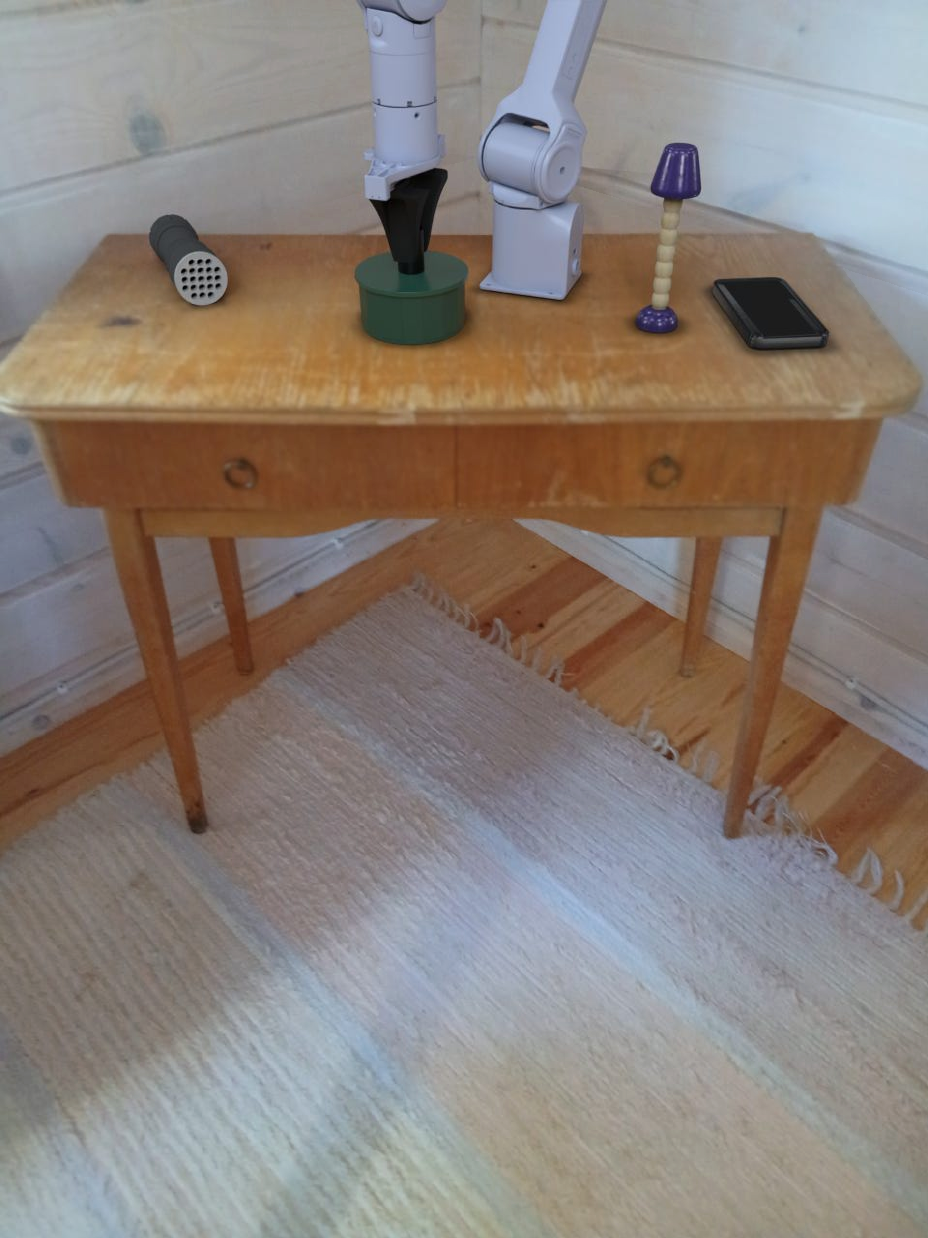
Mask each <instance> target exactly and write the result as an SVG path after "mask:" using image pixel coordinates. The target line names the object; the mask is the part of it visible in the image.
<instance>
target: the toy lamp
mask: <svg viewBox="0 0 928 1238" xmlns="http://www.w3.org/2000/svg"><path fill="white" fill-rule="evenodd" d="M652 177H653V178H652V180H651V183H650V188H649V190H650V192H651V194H652V195H654V196H656V197H658V198H659V197H660V198H662V199H663V202H662V206H663V212H662V214H661V218H660V224H661V228H660V230H659V234H658V241H659V244H658V245H657V248H656V259H657V261H656V262H655V265H654V275H655V276H654V279H653V282H652V289H653V293H652V295H651V298H650V303H651V304H649V305H646V306H644V307H643V308H641V310H640V311H639V312H638V314H637V316H636V318H635V322H634V323H635V326H636V327H637V328H638V329H640V330H641V331H645V332H650V333H656V334H657V333H667V332H672V331H674V330H675V329H676V330H677V328H678V325H679V320H678V316H677V314H676V312H675V310H674V309H673V308H672V307H670V306H669V303H670V293H669V292H670V290H671V288H672V277H671V276H672V274H673V272H674V261H673V260H674V259H675V256H676V245H675V244H676V242H677V240H678V237H679V231H678V227H679V225H680V221H681V213H680V210H681V209H682V208H683V207H682V206H683V204H684V203H683V201H684V200H690V199H694V198H697V197H699V196H700V194H701V192H702V179H701V168H700V156H699V150H698V146H696V145H695V144H692V143H688V142H670V143H668V144H666V145H665V147H663V150H662V153H661V155H660V158H659V160H658V164H657V166H656V169H655V171H654V174H653V176H652Z"/></svg>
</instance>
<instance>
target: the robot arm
mask: <svg viewBox="0 0 928 1238" xmlns="http://www.w3.org/2000/svg"><path fill="white" fill-rule="evenodd" d="M447 1H448V0H355V2H356V4H357V5H358V6H359V8H360V10H361V12H362V16H363V30H365V31H366V34H367V38H368V55H369V71H370V72H369V73H370V87H371V104H372V105H371V106H372V119H373V122H372V123H373V136H374V137H373V138H374V147H370V148H368V149H366V150H364V152H363V159H364V161H366V162H370V167H369V170H368V172H367V173H366V174H364V176H363V180H364V194H365V199H366V200H369V202H370V203H371V205H372V207H373V208H374V210H375V212H376V214H377V215H378V218H379V220H380V222H381V224H382V227H383V230H384V234H385V237H386V240H387V244H388V247H389V250H390V251H389V252H391V254H392V257H393V260H394V261H395V262H403V263H410V264H413V263H414V262H415V261H416V257H417V252H418V242H419V228H420V226H422V227H423V233H424V252H426V251H427V250H428V249H429V246H430V242H431V237H432V232H433V231H432V230H433V226H434V220H435V216H436V215H435V214H436V210H437V207H438V203H439V200H440V198H441V195H442V193H443V190H444V188H445V185H446V183H447V181H448V178H449V171H448V170H447V168H446V169H445V168H442V167H441V168H440V167H439V165H440V164H441V159H443V158H444V157H446V135H445V134H442V133H441V134H440V133H439V132H438V131H439V129H438V93H437V91H438V89H437V87H438V86H437V84H438V83H437V41H436V39H437V38H436V36H437V35H436V15H437V14H439V13H441V12H443V10H444V8H445V6H446V4H447ZM607 4H608V0H547V2H546V5H545V8H544V11H543V15H542V18H541V22H540V25H539V28H538V32H537V35H536V38H535V42H534V45H533V47H532V51H531V54H530V58H529V61H528V64H527V68H526V71H525V74H524V78H523V80H522V84H521V85H520V86H519V87H517V88H516V89H515V90H514V91H512V92H511V93H509V94H508V95H506V96H505V97H504V98H503V99H502V100H500V101H499V102H498V104H497V107H496V111H495V113H494V117H493V119H492V120H491V122H490V123H489V125H488V126H487V128H486V129H485V131H484V132H483V134H482V136H481V138H480V140H479V144H478V148H477V157H476V158H477V167H478V170H479V173H480V175H481V177H482V178H483V180H485V182H486V183H488V194H489V195H492V243H491V244H492V248H491V250H492V251H491V254H492V255H491V271H490V272H489V273H488V274H487V275H486V277H484V279H482V281H481V282H480V283H479V289H480V290H485V291H493V292H497V293H498V292H500V293H506V294H514V295H520V296H529V297H534V298H535V297H536V298H544V299H549V300H550V299H551V300H558V301H562V300H564V299H565V298H566V297H567V295H568V294H569V293H570V291H571V289H572V288H573V287H574V286H575V284H576V282H578V280H579V278H580V277H581V276H582V270H581V265H582V263H581V262H582V252H583V251H582V250H583V238H584V237H583V236H584V223H585V213H584V205H582V203H579V202H575V201H570V200H569V199H568V197H569V196H570V195H571V193H572V192H573V190H574V189H575V187H576V185H577V184H578V181H579V178H580V175H581V169H582V159H583V156H582V155H583V148H584V144H585V141H586V138H587V135H588V129H587V127H586V125H585V123H584V121H583V120H582V118H581V116H580V114H579V112H578V110H577V109H576V106H575V101H576V98H577V94H578V92H579V89H580V85H581V82H582V80H583V76H584V74H585V70H586V67H587V64H588V61H589V58H590V56H591V52H592V49H593V46H594V43H595V40H596V37H597V34H598V30H599V27H600V24H601V21H602V19H603V18H602V17H603V15H604V13H605V10H606V6H607ZM536 127H540V128H541V127H542V128H545V129H549V131H548V130H543V129H540V128H536Z"/></svg>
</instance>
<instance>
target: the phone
mask: <svg viewBox="0 0 928 1238" xmlns="http://www.w3.org/2000/svg"><path fill="white" fill-rule="evenodd" d="M711 292H712V295H713V296H714V298H715V299H716V301H717V302H718V304H719V305H720V307H721V308H722V309H723V311H724V312H725V314H726V315H727V316H728V318H729V320H730V321H731V323H732V324H733V325H734V327H735V328H736V330H737V331H738V332H739V334H740V335H741V337H742V338H743V339H744V341H745V343H746V345H748V347H750V348H752V349H755V350H784V349H785V350H786V349H808V348H823V347H826V346H827V344H828V340H829V336H830V331H829V329H827V327H826V326H825V325H824V323H823V322H822V321H821V320H820V319H819V318H818V316H816V314H815V313H814V312H813V311H812V309H811V308H810V307H809V305H807V304H806V303H805V301H804V300H803V299H802V298H801V297H800V296H799V294H798V293H797V292H796V291H795V290H794V289H793V287H792V286H791V285H790V284H789V283H788V281H786V279H784V278H781V277H777V276H761V277H732V278H717V279H715V280H714V281H713V285H712V291H711Z"/></svg>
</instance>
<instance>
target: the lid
mask: <svg viewBox="0 0 928 1238" xmlns="http://www.w3.org/2000/svg"><path fill="white" fill-rule="evenodd" d="M353 271H354V272H353V273H354V280H355V282H356V283H357V285H358V286H359V285H360V286H361V287H362V288H364V289H366V290H368V291H370V292H373V293H377V294H381V295H386V296H393V297H425V296H432V295H437V294H442V293H445V292H448V291H451V290H453V289H455V288H457V287H459V286H461V285H462V284H463V283H464V282H465V283H466V282H467V280H468V278H469V267H468V265H467V264H466V263H465V261H463V260H462V259H461V258H459V257H457V256H454V255H453V254H449V253H446V252H442V251H441V252H440V251H436V250H427V251H426V252H424V233H423V227H422V226H420V228H419V242H418V252H417V257H416V261H415V262H414V263H413V264H410V263H403V262H395V261H394V260H393V257H392V254H391V251H386V252H382V253H378V254H375V255H372V256H370V257H367V258H366V259H363V260H362V261H361V262H359V263H358V264H357V265H356V267H355V269H354V270H353Z"/></svg>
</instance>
